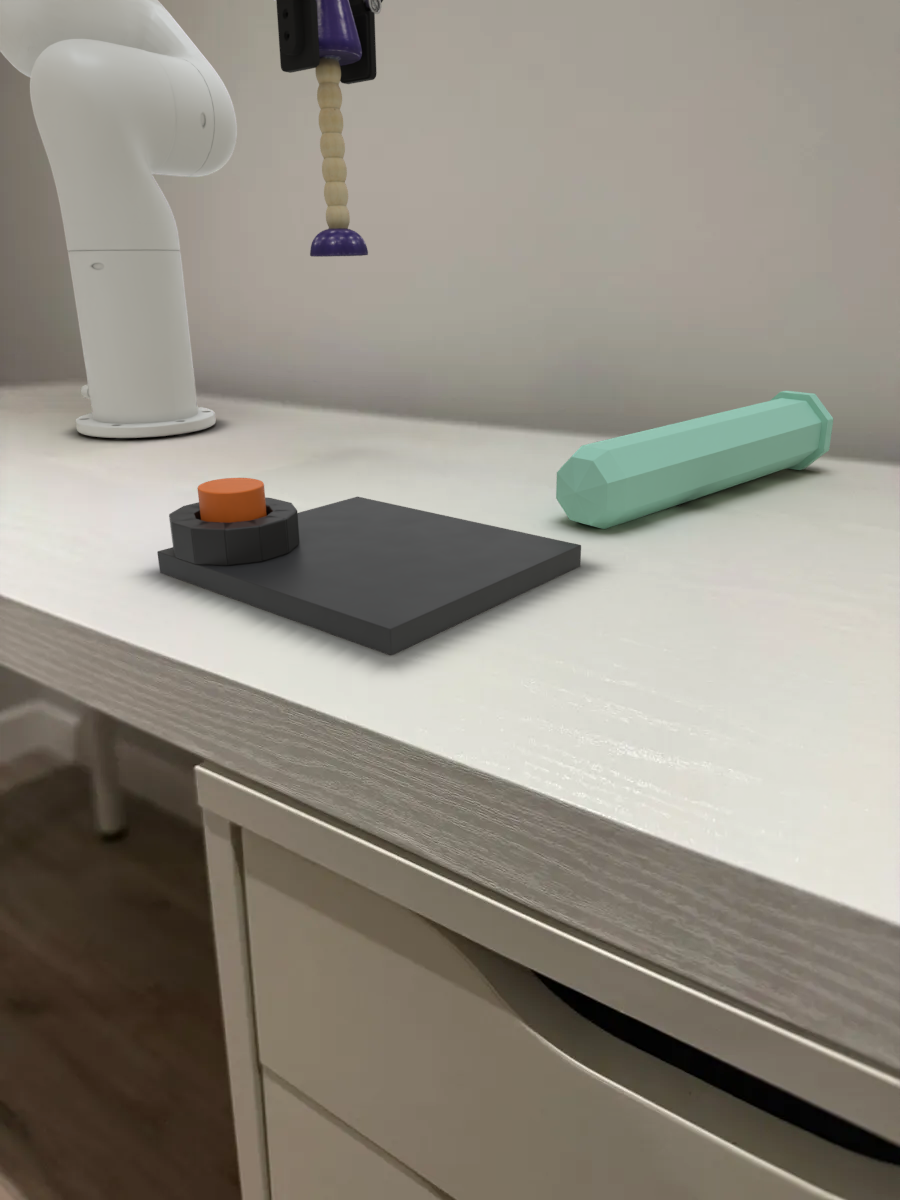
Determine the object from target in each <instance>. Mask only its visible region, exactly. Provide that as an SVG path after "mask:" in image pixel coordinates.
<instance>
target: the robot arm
mask: <svg viewBox="0 0 900 1200" xmlns="http://www.w3.org/2000/svg"><path fill="white" fill-rule="evenodd" d="M273 1H274V2H276V15H277V18H276V19H277V30H278V33H277V34H278V45H279V46H278V47H279V61H280V69H281V71H282V72H284V73H296V72H301V71H306V70H311V69H316V67H317V66H318V65H319V63H320V55H319V36H318V17H317V2H316V0H273ZM383 1H384V0H349V3H350V7H351V11H352V14H353V18H354V22H355V25H356V29H357V33H358V36H359V40H360V44H361V49H362V56H361V59H360V60H359V61H357V62H355V63H352V64H347V65H342V66H340V69H341V79H340V83H341V84H345V85H352V84H358V83H362V82H368V81H374V80H375V79H376V77H377V73H378V72H377V48H376V47H377V45H376V44H377V43H376V19H375V15H376V16H377V15H379V14H380V13H381V11H382V3H383ZM0 53H1V54H2V56H3V57H4V59H6V60H7V61H8V62H9V63H10V65H11V66H13V68H15V69H16V70H17V71H18V72H19V73H21V74H23V75H24V76H26V77H28V78H30V79H29V96H30V103H31V108H32V114H33V117H34V120H35V124H36V127H37V130H38V133H39V136H40V139H41V142H42V146H43V147H44V151H45V154H46V157H47V160H48V163H49V166H50V171H51V173H52V178H53V182H54V185H55V188H56V193H57V199H58V203H59V208H60V214H61V219H62V226H63V231H64V240H65V246H66V250H67V255H68V263H69V268H70V269H69V270H70V275H71V282H72V288H73V289H72V290H73V296H74V303H75V310H76V315H77V321H78V328H79V335H80V342H81V347H82V354H83V361H84V362H83V363H84V368H85V375H86V380H87V382H86V383H87V384H84V385H82V387H81V388H80V394H81V396H82V397H83V399H88V400H89V402H90V407H91V412H89V413H85V414H82V415H80V416H78V417H77V418H76V419H75V426H76V431H77V432H78V433H79V434H80V435H84V436H89V437H94V438H95V437H97V438H106V439H137V438H140V439H141V438H156V437H166V436H167V437H168V436H174V435H175V436H176V435H182V434H189V433H193V432H199V431H203V430H206V429H208V428H211V427H212V426H215V424H216V423H217V419H216V412H215V411H214V410H213V409H211V408H207V407H203V406H198V397H197V387H196V379H195V369H194V362H193V351H192V343H191V334H190V324H189V315H188V314H189V313H188V305H187V297H186V287H185V277H184V268H183V261H182V252H181V243H180V236H179V229H178V225H177V221H176V218H175V216H174V213H173V210H172V208H171V205H170V204H169V203H170V202H169V201H168V200H167V198H166V196H165V194H164V192H163V190H162V188H161V187H160V185H159V183H158V182H157V180H156V178H155V176H154V175H161V176H171V177H184V178H185V177H186V178H198V177H199V178H200V177H205V176H209V175H212V174H214V173H216V172H218V171H220V170H221V169H223V167H224V166H226V165H227V163H228V162H229V161H230V159H231V158H232V156H233V154H234V151H235V149H236V145H237V140H238V139H237V138H238V121H237V115H236V110H235V106H234V103H233V101H232V98H231V95H230V93H229V91H228V88H227V87H226V85H225V83H224V81H223V79H222V78H221V76H220V75H219V74H218V72H217V71H216V69H215V68H214V67H213V65H212V64H211V63H210V61H209V60H208V59H207V58H206V57H205V56H204V54H203V53H202V52H201V50H200V49H199V48H198V47H197V45H196V44H195V43H194V42H193V40H192V39H191V37H189V36H188V34H187V33H186V32H185V30H184V29H183V28H182V27H181V25H180V24H179V23H178V21H176V20H175V18H174V16H173V15H171V13H170V12H169V10H168V9H166V8H165V6H164V5H163V4H162V3H161V1H159V0H0Z"/></svg>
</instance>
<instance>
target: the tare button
mask: <svg viewBox="0 0 900 1200" xmlns="http://www.w3.org/2000/svg"><path fill="white" fill-rule="evenodd" d="M196 490H197V498H198V502H199V506H200V515H201V520H202V521H206V522H224V523H231V522H241V521H250V520H254V519H258V518H262V517H265V516H267V514H266V502H265V497H266V494H265V493H266V491H265V490H266V489H265V483H264V482H263V480H260V479H256V478H250V477H225V478H218V479H212V480H207V481H205V482H203V483H201V484H198V486H197V489H196Z"/></svg>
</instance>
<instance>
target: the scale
mask: <svg viewBox="0 0 900 1200" xmlns="http://www.w3.org/2000/svg"><path fill="white" fill-rule="evenodd" d="M265 502H266V514H267V516H265V517H262V518H258V519H254V520H250V521H241V522H231V523H224V522H206V521H202V520H201V515H200V506H199V501H198V502H194V503H190V504H186V505H182V506H181V507H179V508H177V509H175V510H174V511H172V512H171V513H169V514H168V517H169V526H170V535H171V543H172V547H168V548H164V549H161V550H158V551H157V559H158V568H159V573H160V574H163V575H164V576H167V577H170V578H173V579H176V580H179V581H182V582H185V583H187V584H190V585H193V586H195V587H198V588H202V589H204V590H206V591H210V592H212V593H215V594H218V595H221V596H224V597H227V598H229V599H231V600H235V601H238V602H240V603H243V604H246V605H248V606H251V607H254V608H257V609H259V610H261V611H264V612H265V611H266V612H268V613H272V614H274V615H276V616H279V617H282V618H285V619H287V620H290V621H293V622H295V623H299V624H301V625H305V626H307V627H310V628H312V629H316V630H318V631H321V632H324V633H327V634H330V635H332V636H335V637H337V638H341V639H344V640H346V641H349V642H351V643H354V644H358V645H360V646H362V647H366V648H369V649H371V650H374V651H376V652H379V653H382V654H385V655H387V656H394V655H396V654H398V653H400V652H402V651H404V650H407V649H409V648H411V647H413V646H415V645H417V644H419V643H422V642H423V641H426V640H427V639H430V638H433V637H434V636H436V635H438V634H440V633H442V632H445V631H448V629H451V628H453V627H455V626H457V625H459V624H462V623H463V622H466V621H468V620H470V619H472V618H474V617H476V616H478V615H480V614H483V613H484V612H488V611H489V610H491V609H493V608H495V607H497V606H499V605H502V604H503V603H506V602H508V601H510V600H512V599H514V598H517V597H518V596H521V595H523V594H525V593H527V592H530V591H531V590H533V589H535V588H538V587H539V586H542V585H544V584H546V583H548V582H550V581H552V580H555V579H557V578H559V577H561V576H563V575H565V574H567V573H570V572H572V571H574V570H576V569H578V568H580V567H581V560H582V559H581V558H582V545H581V544H577V543H575V542H569V541H564V540H561V539H560V540H559V539H554V538H550V537H546V536H541V535H536V534H532V533H527V532H523V531H519V530H514V529H509V528H504V527H499V526H496V525H491V524H486V523H483V522H477V521H472V520H467V519H463V518H458V517H454V516H449V515H445V514H439V513H435V512H431V511H427V510H426V511H425V510H422V509H416V508H412V507H408V506H403V505H400V504H399V505H398V504H394V503H389V502H385V501H380V500H375V499H371V498H366V497H361V496H355V497H350V498H347V499H343V500H340V501H336V502H333V503H329V504H325V505H322V506H317V507H313V508H310V509H307V510H304V511H300V512H298V510H297V509H298V508H297V507H295V506H294V504H293V503H292V502H289V501H285V500H281V499H277V498H274V497H266V496H265Z"/></svg>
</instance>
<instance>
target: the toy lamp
mask: <svg viewBox="0 0 900 1200" xmlns="http://www.w3.org/2000/svg"><path fill="white" fill-rule="evenodd" d="M316 2H317V17H318V36H319V55H320V63H319V65H318V66H317V67H316V68H315V78H316V81H317V83H318V87H317V91H316V100H317V104H318V107H319V109H320V110H319V112H318V126H319V131H320V132H321V135H320V139H319V140H320V141H319V148H320V153H321V156H322V157H323V160H322V163H321V173H322V177H323V180H324V182H325V183H324V186H323V187H324V188H323V197H324V201H325V203H326V206H327V207H326V210H325V222H326V224H327V227H328V228H326V229H324V230H322V231H320V232H319V233H317V234H316V235H315V236H314V238H313V239H312V242H311V245H310V251H309V256H310V257H318V258H319V257H362V256H368V255H369V251H368V247H367V243H366V241H365V240H364V238H363V237H362V235H360V233H358V231H355V230H353V229H350V228H349V226H350V223H351V216H350V212H349V208H348V202H349V189H348V187H347V184H346V180H347V177H348V170H347V169H348V167H347V165H346V164H347V163H346V161H345V159H344V156H345V153H346V145H345V144H346V143H345V140H344V136H343V135H342V132H343V130H344V117H343V113H342V110H341V108H342V104H343V94H342V90H341V87H340V83H341V81H340V79H341V69H340V66H342V65H347V64H352V63H355V62H357V61H359V60H360V59H361V56H362V49H361V44H360V40H359V36H358V33H357V29H356V25H355V22H354V18H353V14H352V11H351V7H350V3H349V0H316Z"/></svg>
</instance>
